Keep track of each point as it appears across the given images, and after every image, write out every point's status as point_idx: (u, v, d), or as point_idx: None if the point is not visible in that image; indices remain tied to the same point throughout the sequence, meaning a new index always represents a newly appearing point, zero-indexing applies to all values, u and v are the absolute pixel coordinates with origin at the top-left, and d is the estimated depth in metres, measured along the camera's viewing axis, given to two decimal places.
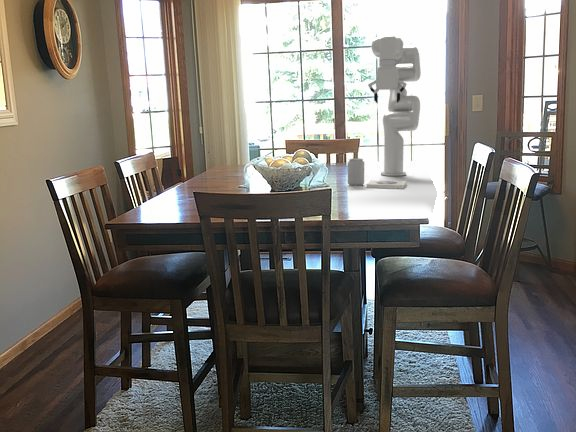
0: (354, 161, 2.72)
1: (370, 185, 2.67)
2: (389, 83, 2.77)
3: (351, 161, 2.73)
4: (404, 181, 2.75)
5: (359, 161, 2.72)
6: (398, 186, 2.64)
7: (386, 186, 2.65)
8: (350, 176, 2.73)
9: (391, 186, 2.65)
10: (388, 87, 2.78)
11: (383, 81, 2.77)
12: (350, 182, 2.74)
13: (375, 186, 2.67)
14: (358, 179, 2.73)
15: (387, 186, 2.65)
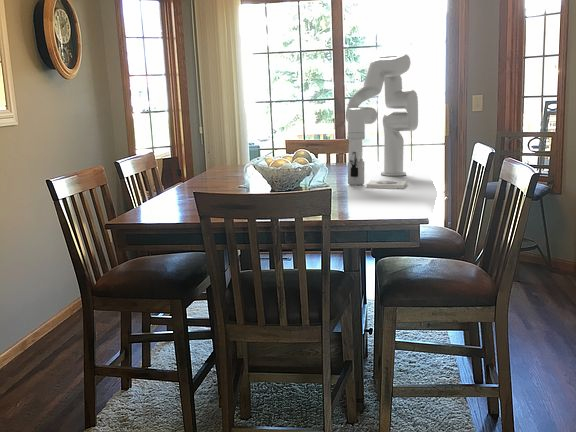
0: None
1: (370, 185, 2.67)
2: (361, 155, 2.75)
3: None
4: (404, 181, 2.75)
5: (359, 161, 2.72)
6: (398, 186, 2.64)
7: (386, 186, 2.65)
8: (350, 176, 2.73)
9: (391, 186, 2.65)
10: None
11: (360, 153, 2.72)
12: (350, 182, 2.74)
13: (375, 186, 2.67)
14: (358, 178, 2.73)
15: (387, 186, 2.65)
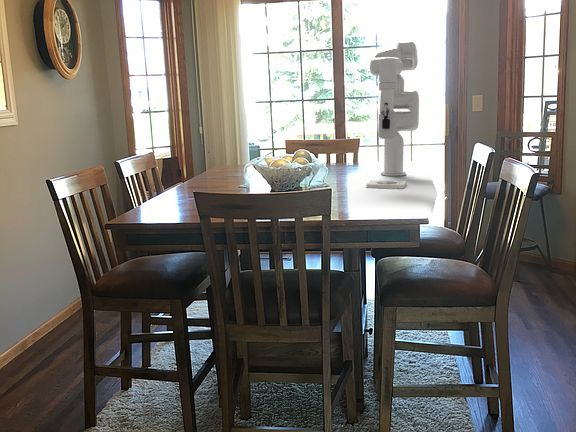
0: None
1: (370, 185, 2.67)
2: (393, 107, 2.66)
3: (382, 113, 2.64)
4: (404, 181, 2.75)
5: (391, 112, 2.63)
6: (398, 186, 2.64)
7: (386, 186, 2.65)
8: (381, 128, 2.65)
9: (391, 186, 2.65)
10: None
11: (392, 104, 2.63)
12: (381, 135, 2.65)
13: (375, 186, 2.67)
14: (390, 131, 2.64)
15: (387, 186, 2.65)
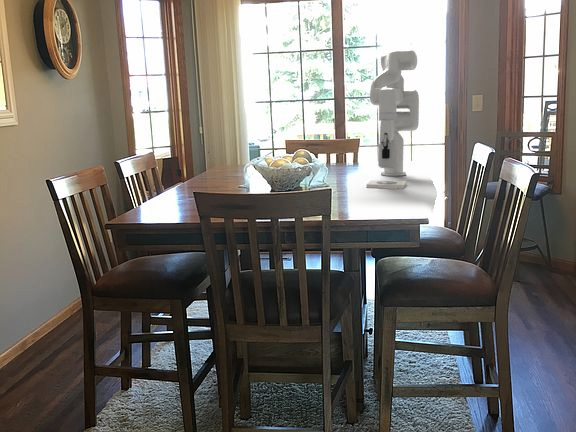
0: None
1: (370, 185, 2.67)
2: (392, 137, 2.68)
3: (382, 143, 2.66)
4: (404, 181, 2.75)
5: (391, 142, 2.65)
6: (398, 186, 2.64)
7: (386, 186, 2.65)
8: (381, 158, 2.67)
9: (391, 186, 2.65)
10: None
11: (392, 135, 2.65)
12: (381, 164, 2.67)
13: (375, 186, 2.67)
14: (390, 160, 2.66)
15: (387, 186, 2.65)
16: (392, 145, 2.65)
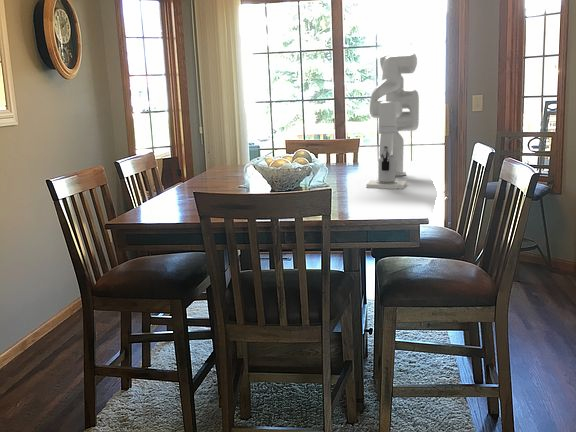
0: None
1: (370, 185, 2.67)
2: (392, 150, 2.69)
3: None
4: (404, 181, 2.75)
5: (390, 158, 2.67)
6: (398, 186, 2.64)
7: (386, 186, 2.65)
8: (381, 173, 2.68)
9: (391, 186, 2.65)
10: (392, 154, 2.69)
11: (392, 148, 2.67)
12: (381, 179, 2.69)
13: (375, 186, 2.67)
14: (389, 176, 2.67)
15: (387, 186, 2.65)
16: (392, 160, 2.67)
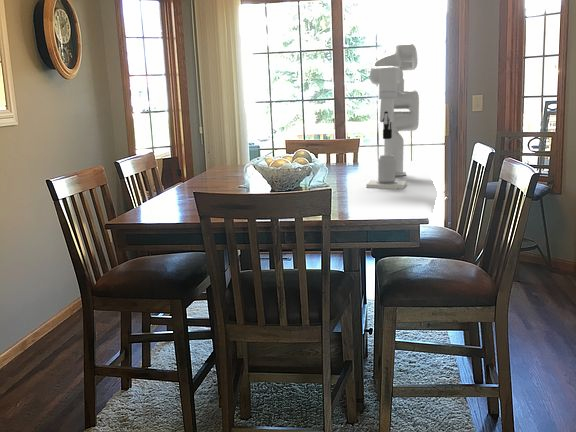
0: (385, 158, 2.67)
1: (370, 185, 2.67)
2: (393, 115, 2.66)
3: (382, 158, 2.67)
4: (404, 181, 2.75)
5: (390, 158, 2.67)
6: (398, 186, 2.64)
7: (386, 186, 2.65)
8: (381, 173, 2.68)
9: (391, 186, 2.65)
10: (392, 120, 2.66)
11: (392, 113, 2.64)
12: (381, 179, 2.69)
13: (375, 186, 2.67)
14: (389, 176, 2.67)
15: (387, 186, 2.65)
16: (392, 160, 2.67)
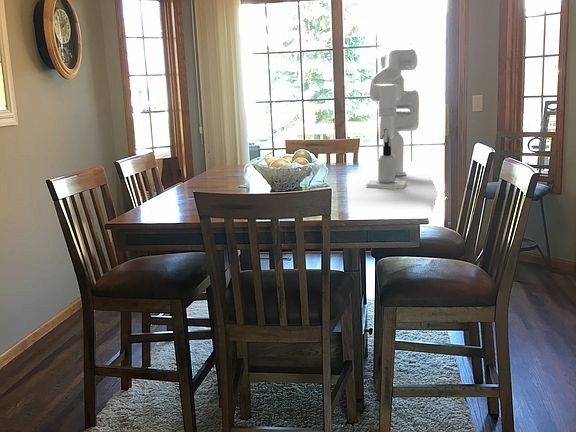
0: (385, 158, 2.67)
1: (370, 185, 2.67)
2: (392, 133, 2.68)
3: (382, 158, 2.67)
4: (404, 181, 2.75)
5: (390, 158, 2.67)
6: (398, 186, 2.64)
7: (386, 186, 2.65)
8: (381, 173, 2.68)
9: (391, 186, 2.65)
10: (392, 137, 2.68)
11: (392, 131, 2.65)
12: (381, 179, 2.69)
13: (375, 186, 2.67)
14: (389, 176, 2.67)
15: (387, 186, 2.65)
16: (392, 160, 2.66)
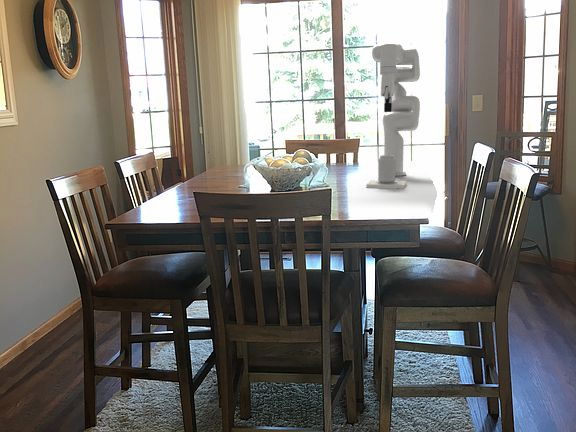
0: (385, 158, 2.67)
1: (370, 185, 2.67)
2: (393, 90, 2.80)
3: (382, 158, 2.67)
4: (404, 181, 2.75)
5: (390, 158, 2.67)
6: (398, 186, 2.64)
7: (386, 186, 2.65)
8: (381, 173, 2.68)
9: (391, 186, 2.65)
10: (392, 94, 2.80)
11: (393, 88, 2.77)
12: (381, 179, 2.69)
13: (375, 186, 2.67)
14: (389, 176, 2.67)
15: (387, 186, 2.65)
16: (392, 160, 2.67)
